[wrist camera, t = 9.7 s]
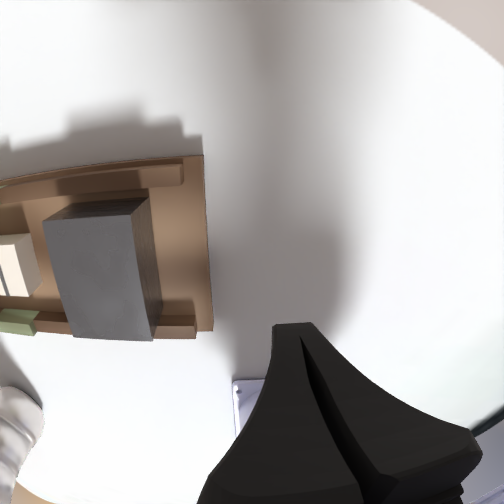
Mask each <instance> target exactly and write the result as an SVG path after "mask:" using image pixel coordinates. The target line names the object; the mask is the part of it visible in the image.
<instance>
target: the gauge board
mask: <svg viewBox="0 0 504 504" xmlns="http://www.w3.org/2000/svg"><path fill="white" fill-rule="evenodd" d="M138 197H149V199H150V210H151V219H152V228H153V237H154V245H155V253H156V260H157V268H158V274H159V281H160V288H161V294H162V300H163V306H164V307H163V310H162V313H161V316H160V319H159V322H158V326H157V329H156V332H155V335H154V338H153V339H196V334H197V331H213V325H214V320H213V309H212V296H211V283H210V270H209V255H208V239H207V222H206V203H205V182H204V156H203V155H192V156H176V157H162V158H149V159H138V160H128V161H119V162H110V163H101V164H93V165H86V166H79V167H72V168H65V169H59V170H53V171H47V172H41V173H35V174H30V175H24V176H19V177H14V178H9V179H5V180H0V235H12V234H25V233H30V234H31V239H32V243H33V247H34V252H35V256H36V260H37V264H38V267H39V271H40V275H41V278H42V282H43V283H42V284H41V285H40V286H39V287H38V288H37V289H36V290H35V291H34V292H33V293H32V294H31V295H30V296H29V297H24V296H5V295H0V332H5V333H12V334H20V335H28V336H34V335H35V334H36V332H37V331H38V332H48V333H59V334H70V335H73V334H72V331H71V329H70V326H69V323H68V320H67V317H66V314H65V311H64V308H63V304H62V301H61V298H60V295H59V291H58V288H57V284H56V281H55V277H54V273H53V269H52V265H51V261H50V257H49V253H48V249H47V244H46V240H45V235H44V230H43V225H42V221H43V220H45V219H47V218H48V217H50V216H51V215H53V214H54V213H56V212H58V211H59V210H61V209H63V208H64V207H66V206H68V205H69V204H71V203H78V202H88V201H99V200H111V199H124V198H138Z"/></svg>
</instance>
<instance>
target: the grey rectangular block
mask: <svg viewBox="0 0 504 504" xmlns="http://www.w3.org/2000/svg"><path fill="white" fill-rule="evenodd" d="M42 225H43V230H44V235H45V240H46V244H47V249H48V253H49V257H50V261H51V265H52V269H53V273H54V277H55V281H56V284H57V288H58V291H59V295H60V298H61V301H62V304H63V308H64V311H65V314H66V317H67V320H68V323H69V326H70V329H71V331H72V334H73V337H77V338H90V339H106V340H127V341H153V338H154V335H155V332H156V329H157V326H158V322H159V319H160V316H161V313H162V310H163V307H164V306H163V300H162V294H161V288H160V281H159V274H158V268H157V260H156V253H155V245H154V237H153V228H152V219H151V210H150V199H149V197H138V198H124V199H111V200H99V201H88V202H78V203H71V204H69V205H68V206H66V207H64V208H63V209H61V210H59V211H58V212H56V213H54V214H53V215H51V216H50V217H48V218H47V219H45V220H43V221H42Z"/></svg>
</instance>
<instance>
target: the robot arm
mask: <svg viewBox="0 0 504 504" xmlns="http://www.w3.org/2000/svg"><path fill="white" fill-rule="evenodd" d="M232 390H233V403H234V416H235V429H236V440H235V441H234V443H233V444H232V446H231V447H230V449H229V450H228V451H227V453H226V454H225V456H224V457H223V458H222V459H221V461H220V462H219V463H218V464H217V466H216V467H215V468H214V469H213V470H212V472H211V473H210V474H209V475H208V478H207V480H206V482H205V485H204V487H203V489H202V491H201V494H200V496H199V499H198V501H197V504H463V502H462V500H461V498H460V495H462V494H463V493H464V490H463V488H462V486H461V482H462V481H463V480H464V479H465V478H466V477H467V476H468V475H469V474H470V473H471V472H472V470H474V469H475V467H476V466H477V465H478V463H479V462H480V460H481V458H482V455H483V453H482V450H481V448H480V447H479V445H478V443H477V441H476V440H475V438H474V436H473V435H472V433H471V432H470V430H469V429H467V428H464V427H461V426H458V425H455V424H452V423H449V422H446V421H443V420H440V419H438V418H435V417H433V416H431V415H428V414H426V413H424V412H422V411H420V410H418V409H416V408H414V407H412V406H410V405H408V404H406V403H404V402H403V401H401V400H399V399H397V398H396V397H394V396H392V395H391V394H389V393H388V392H386V391H385V390H383V389H382V388H381V387H379V386H378V385H376V384H375V383H373V382H372V381H371V380H369V379H368V378H367V377H366V376H364V375H363V374H362V373H361V372H360V371H359V370H357V369H356V368H355V367H354V366H353V365H352V364H351V363H350V362H349V361H348V360H347V359H346V358H344V357H343V356H342V355H341V354H340V353H339V352H338V351H337V350H336V349H335V348H334V346H333V345H332V344H331V343H330V342H329V341H328V340H327V339H326V338H325V337H324V336H323V335H322V333H321V332H320V331H319V330H318V329H317V328H316V327H315V326H314V325H313V324H312V323H311V322H307V323H291V324H276V325H274V326H273V327H272V349H271V360H270V364H269V368H268V371H267V375H266V378H265V379H261V380H238V381H235V382H233V384H232ZM238 390H240V391H238ZM0 504H3V503H0ZM469 504H504V484H503V485H501V486H499V487H498V488H496V489H494V490H492V491H491V492H489V493H487V494H485V495H484V496H482V497H480V498H478V499H476V500H474V501H473V502H471V503H469Z"/></svg>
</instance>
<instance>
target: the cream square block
mask: <svg viewBox="0 0 504 504" xmlns="http://www.w3.org/2000/svg"><path fill="white" fill-rule="evenodd" d="M42 283H43V282H42V278H41V275H40V271H39V267H38V264H37V260H36V256H35V252H34V247H33V243H32V239H31V234H30V233H25V234H12V235H0V295H5V296H24V297H29V296H30V295H31V294H32V293H33V292H34V291H35V290H36V289H37V288H38V287H39V286H40V285H41V284H42Z"/></svg>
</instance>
